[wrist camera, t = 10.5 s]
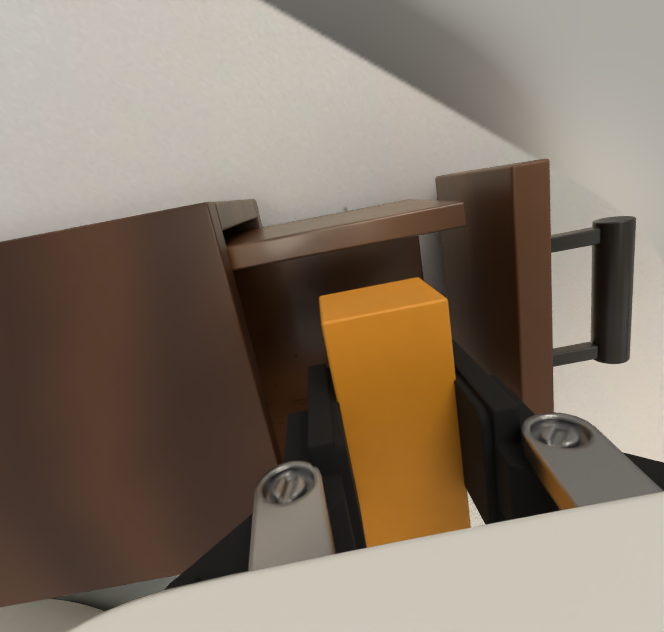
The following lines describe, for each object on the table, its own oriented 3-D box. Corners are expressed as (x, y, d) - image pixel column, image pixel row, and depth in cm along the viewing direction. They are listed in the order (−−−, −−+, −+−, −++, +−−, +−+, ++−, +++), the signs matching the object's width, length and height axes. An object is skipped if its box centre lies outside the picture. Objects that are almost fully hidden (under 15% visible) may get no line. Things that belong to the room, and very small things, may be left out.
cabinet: (255, 198, 20) (207, 201, 11) (305, 413, 24) (301, 552, 15) (-25, 253, 20) (-310, 301, 11) (68, 458, 24) (-85, 624, 15)
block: (318, 295, 11) (320, 322, 8) (419, 275, 11) (448, 297, 8) (359, 501, 13) (370, 567, 11) (444, 484, 13) (473, 547, 11)
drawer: (556, 153, 19) (711, 126, 12) (559, 365, 23) (680, 449, 15) (188, 224, 20) (111, 242, 12) (246, 424, 23) (213, 536, 15)
